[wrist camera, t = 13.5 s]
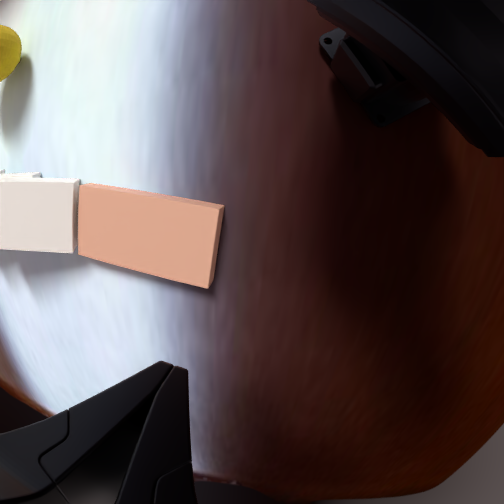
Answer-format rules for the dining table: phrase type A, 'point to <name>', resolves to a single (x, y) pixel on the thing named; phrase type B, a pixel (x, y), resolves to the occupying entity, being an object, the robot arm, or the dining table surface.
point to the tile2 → (39, 214)
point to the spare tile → (150, 232)
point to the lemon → (9, 51)
